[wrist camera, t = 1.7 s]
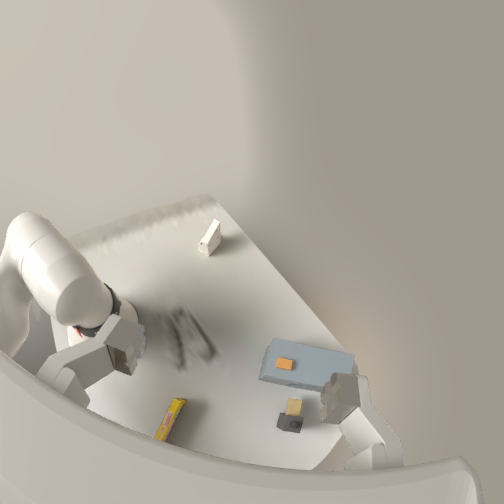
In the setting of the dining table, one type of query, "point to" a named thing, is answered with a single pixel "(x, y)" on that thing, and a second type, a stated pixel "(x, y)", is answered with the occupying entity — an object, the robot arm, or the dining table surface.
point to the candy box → (169, 419)
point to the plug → (291, 417)
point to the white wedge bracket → (210, 239)
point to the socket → (302, 365)
